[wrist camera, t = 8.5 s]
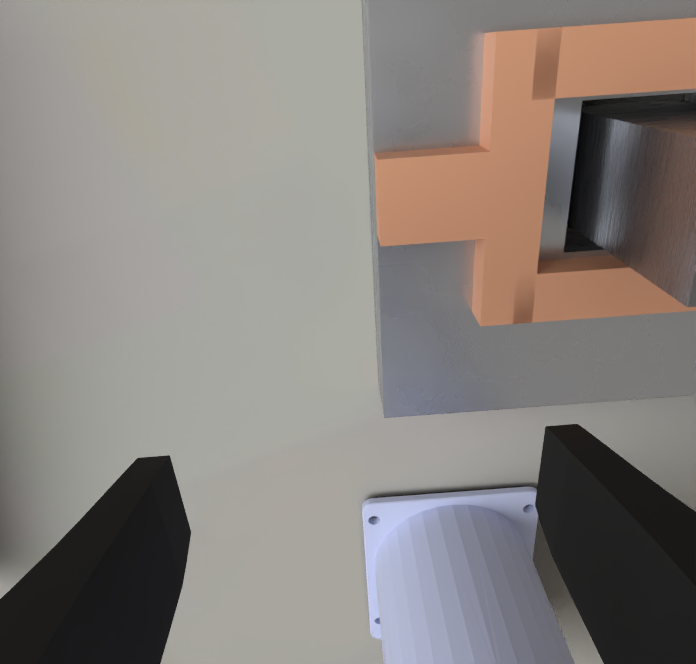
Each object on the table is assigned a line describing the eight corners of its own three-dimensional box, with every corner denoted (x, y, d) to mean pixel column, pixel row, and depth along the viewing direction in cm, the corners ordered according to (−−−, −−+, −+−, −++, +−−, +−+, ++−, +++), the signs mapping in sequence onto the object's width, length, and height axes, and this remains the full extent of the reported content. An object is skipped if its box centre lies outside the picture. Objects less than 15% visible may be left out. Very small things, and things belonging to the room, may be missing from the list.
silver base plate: (724, 355, 22) (769, 389, 20) (378, 380, 22) (384, 417, 20) (875, -162, 15) (974, -200, 12) (355, -127, 15) (362, -159, 12)
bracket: (744, 291, 18) (769, 305, 17) (380, 317, 18) (383, 333, 17) (827, 8, 14) (865, 5, 13) (369, 41, 14) (373, 40, 13)
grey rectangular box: (647, 204, 19) (841, 294, 12) (551, 212, 19) (687, 307, 12) (667, 99, 17) (903, 131, 10) (562, 107, 17) (726, 144, 10)
